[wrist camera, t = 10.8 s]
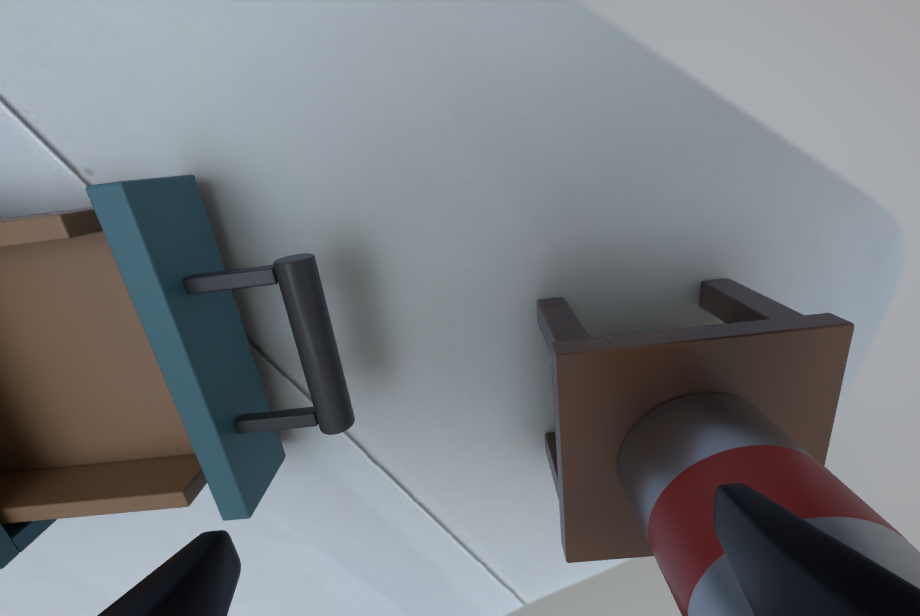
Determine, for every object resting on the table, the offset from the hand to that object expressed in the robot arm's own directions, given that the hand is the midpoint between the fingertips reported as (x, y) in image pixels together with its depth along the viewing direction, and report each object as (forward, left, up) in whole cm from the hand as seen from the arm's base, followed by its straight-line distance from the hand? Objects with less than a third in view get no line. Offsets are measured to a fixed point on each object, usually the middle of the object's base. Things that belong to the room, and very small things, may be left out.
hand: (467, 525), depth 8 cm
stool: (-7, +4, -12) cm, 15 cm away
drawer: (+15, 0, -11) cm, 18 cm away
